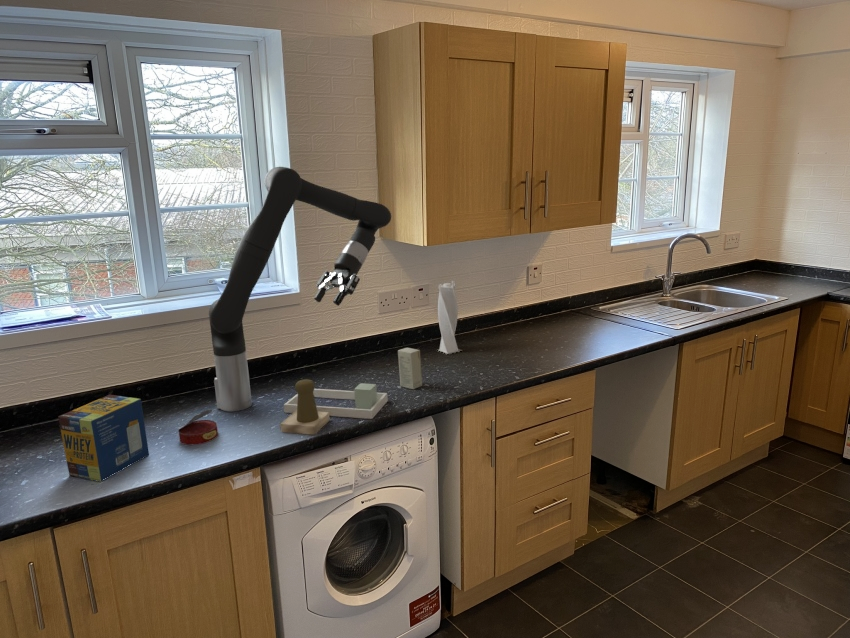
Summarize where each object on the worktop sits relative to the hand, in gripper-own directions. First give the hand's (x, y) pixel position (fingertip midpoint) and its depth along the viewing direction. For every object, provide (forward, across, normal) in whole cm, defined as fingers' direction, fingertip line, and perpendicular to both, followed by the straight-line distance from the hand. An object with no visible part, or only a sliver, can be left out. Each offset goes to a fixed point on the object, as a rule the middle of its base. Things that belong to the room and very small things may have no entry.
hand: (326, 302), depth 186 cm
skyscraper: (-20, -1, +64) cm, 67 cm away
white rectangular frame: (+24, +6, +19) cm, 31 cm away
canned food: (+51, -9, -7) cm, 52 cm away
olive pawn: (+33, +10, +7) cm, 35 cm away
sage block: (+22, +14, +22) cm, 34 cm away
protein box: (+66, -12, -22) cm, 71 cm away
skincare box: (+6, +12, +38) cm, 40 cm away
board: (+35, +9, +8) cm, 37 cm away
